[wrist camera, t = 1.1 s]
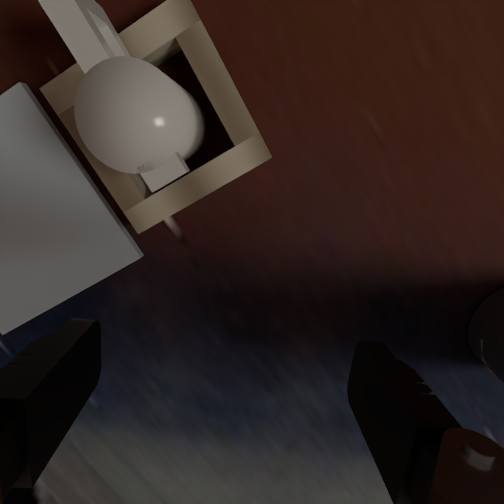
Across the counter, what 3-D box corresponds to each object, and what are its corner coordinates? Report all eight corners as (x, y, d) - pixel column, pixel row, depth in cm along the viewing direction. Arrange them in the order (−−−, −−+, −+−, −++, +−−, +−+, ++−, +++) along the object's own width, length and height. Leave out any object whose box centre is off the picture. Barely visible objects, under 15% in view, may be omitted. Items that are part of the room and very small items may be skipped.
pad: (26, 83, 26) (19, 81, 26) (143, 255, 31) (140, 257, 30) (-119, 185, 29) (-129, 186, 28) (8, 330, 33) (2, 335, 32)
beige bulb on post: (226, 152, 28) (213, 156, 19) (165, 188, 29) (127, 207, 20) (146, 7, 25) (87, -65, 16) (80, 53, 26) (-7, 7, 17)
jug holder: (192, 6, 25) (183, -12, 22) (270, 156, 28) (272, 157, 25) (62, 94, 27) (39, 88, 24) (149, 225, 30) (138, 234, 27)
